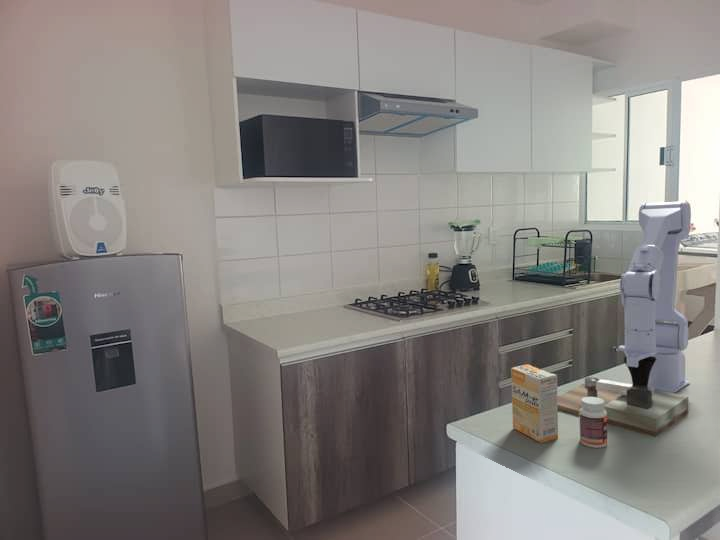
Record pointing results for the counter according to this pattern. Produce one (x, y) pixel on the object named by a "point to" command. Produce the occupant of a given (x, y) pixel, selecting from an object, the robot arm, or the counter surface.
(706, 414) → the counter surface
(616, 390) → the bar
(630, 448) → the counter surface
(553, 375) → the supplement box
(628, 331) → the robot arm
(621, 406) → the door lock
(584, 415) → the pill bottle
